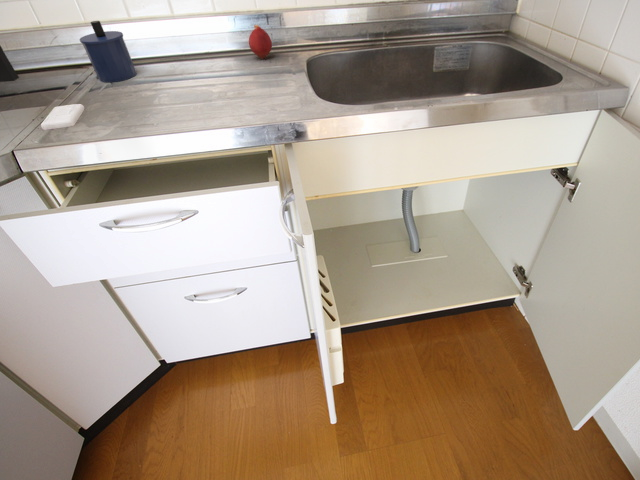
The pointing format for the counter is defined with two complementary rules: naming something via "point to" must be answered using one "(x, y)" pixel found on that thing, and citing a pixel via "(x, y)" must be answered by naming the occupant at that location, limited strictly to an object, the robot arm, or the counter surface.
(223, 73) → the counter surface
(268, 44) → the onion
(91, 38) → the pot lid
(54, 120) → the soap
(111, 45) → the pot
